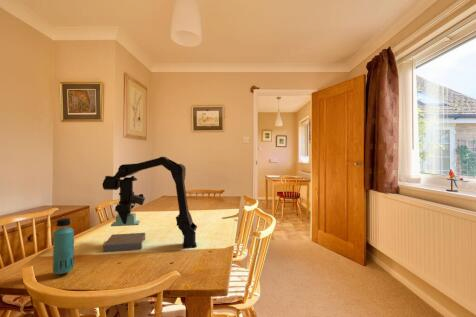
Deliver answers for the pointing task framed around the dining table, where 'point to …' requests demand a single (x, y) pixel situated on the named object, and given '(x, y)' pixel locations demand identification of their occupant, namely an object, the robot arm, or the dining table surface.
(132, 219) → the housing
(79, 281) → the dining table surface
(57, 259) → the beverage bottle
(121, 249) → the stand
